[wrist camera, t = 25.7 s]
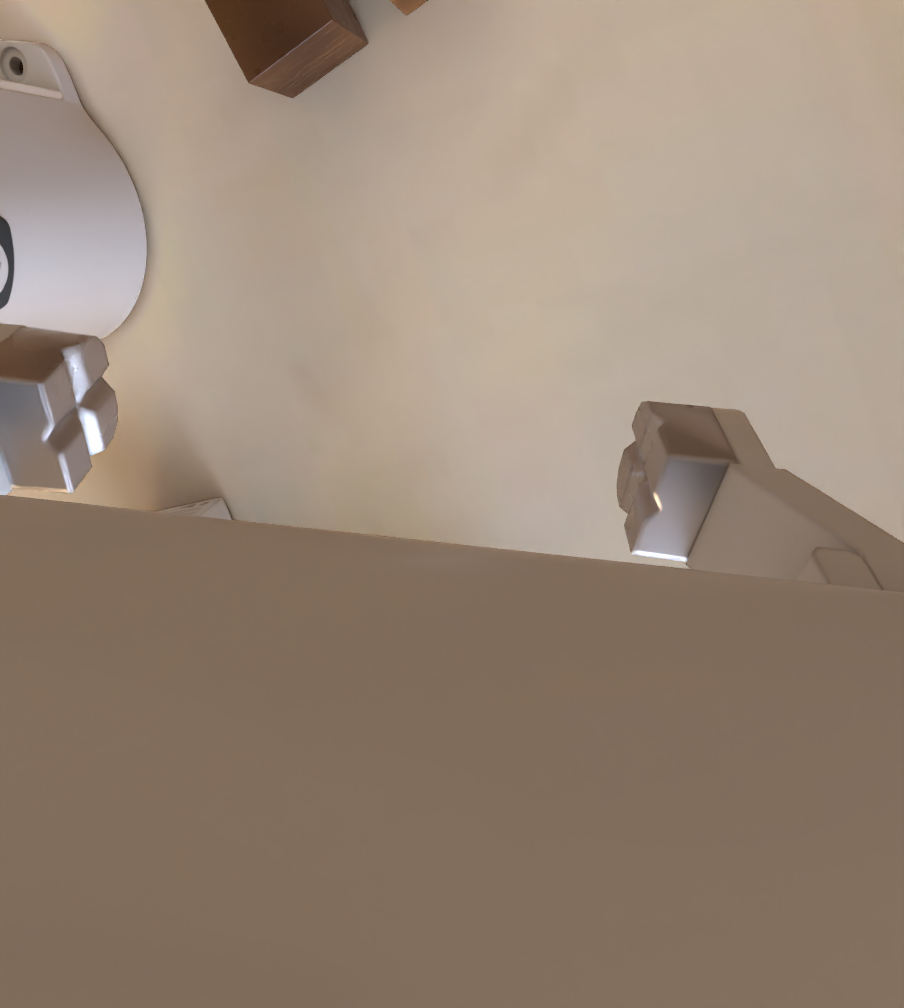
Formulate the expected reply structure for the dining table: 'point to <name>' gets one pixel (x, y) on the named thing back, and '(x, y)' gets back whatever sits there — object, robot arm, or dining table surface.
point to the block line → (291, 38)
